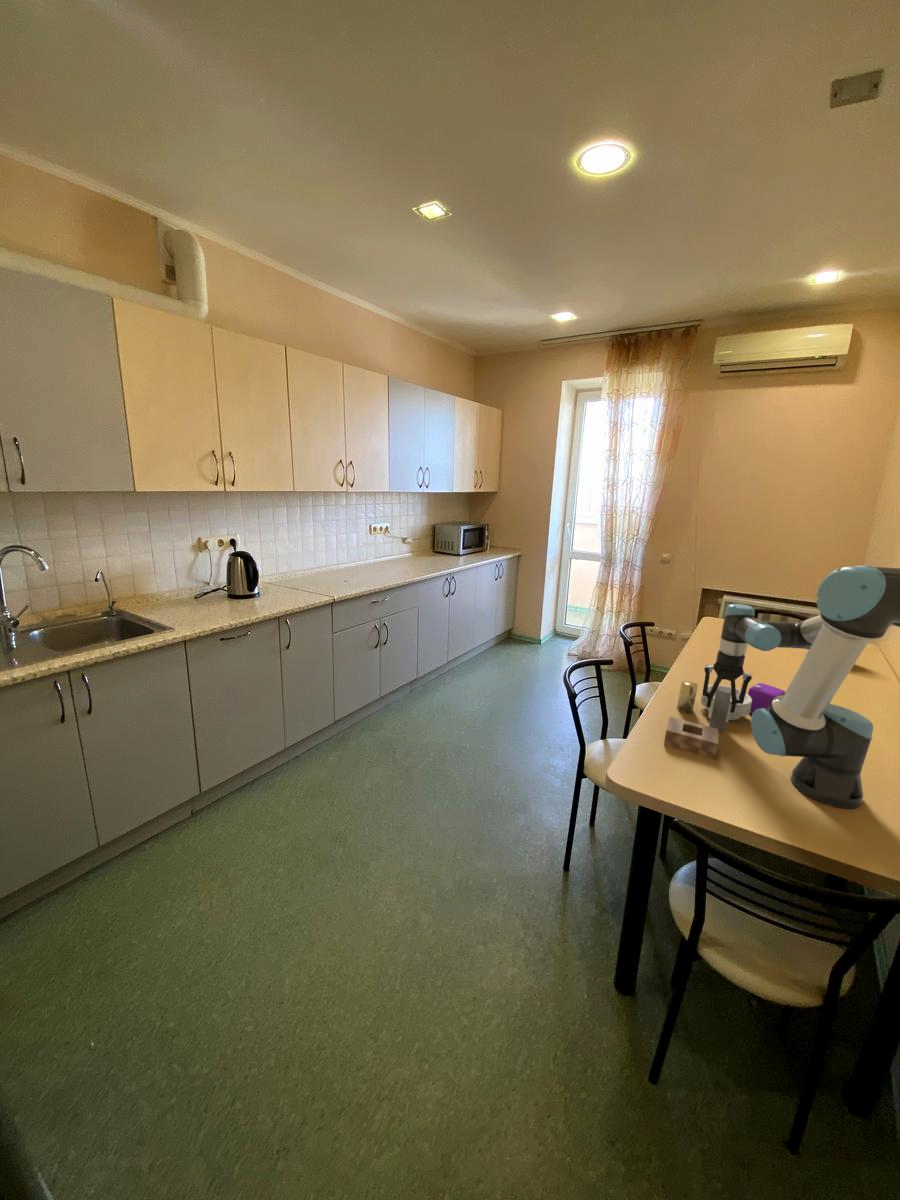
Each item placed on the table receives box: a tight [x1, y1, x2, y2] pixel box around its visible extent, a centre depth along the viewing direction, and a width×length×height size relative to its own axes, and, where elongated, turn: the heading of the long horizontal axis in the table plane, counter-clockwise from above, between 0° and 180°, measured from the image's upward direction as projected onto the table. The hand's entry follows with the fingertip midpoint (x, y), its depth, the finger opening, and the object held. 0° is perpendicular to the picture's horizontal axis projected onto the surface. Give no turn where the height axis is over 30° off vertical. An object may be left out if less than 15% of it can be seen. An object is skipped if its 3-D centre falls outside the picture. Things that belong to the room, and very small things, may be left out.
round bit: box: [676, 680, 699, 714], centre depth 167 cm, size 5×5×10 cm
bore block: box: [663, 716, 719, 760], centre depth 145 cm, size 14×10×5 cm
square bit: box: [708, 686, 731, 734], centre depth 154 cm, size 4×4×14 cm
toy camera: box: [747, 682, 786, 714], centre depth 168 cm, size 11×14×10 cm
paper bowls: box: [700, 684, 752, 721], centre depth 165 cm, size 15×15×8 cm
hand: (718, 718), depth 155 cm, fingers closed on square bit, 4 cm apart
